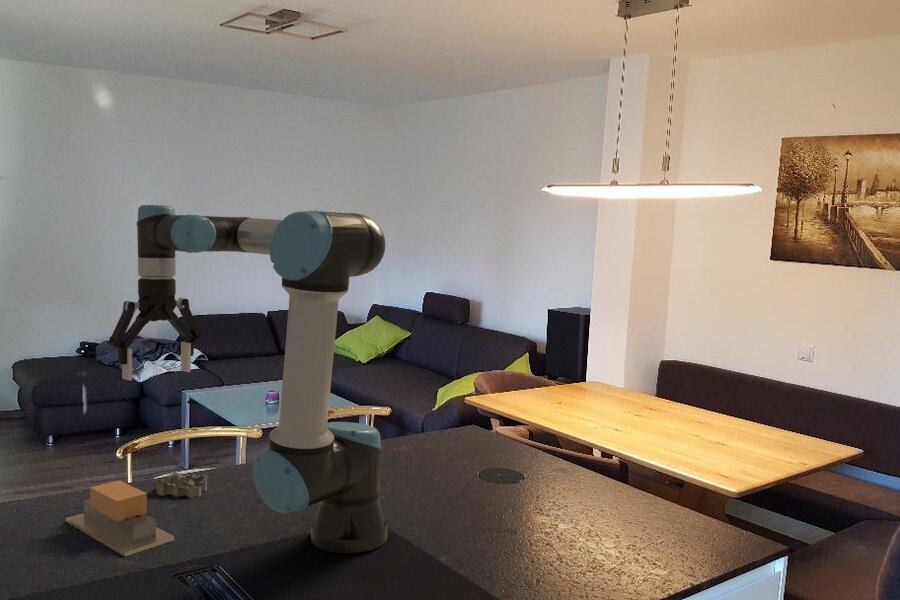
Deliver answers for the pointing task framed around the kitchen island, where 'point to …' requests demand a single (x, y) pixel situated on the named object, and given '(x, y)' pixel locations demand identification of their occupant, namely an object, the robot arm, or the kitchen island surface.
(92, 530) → the beige grey stepped block
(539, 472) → the kitchen island surface
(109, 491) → the orange toy brick
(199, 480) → the egg carton
